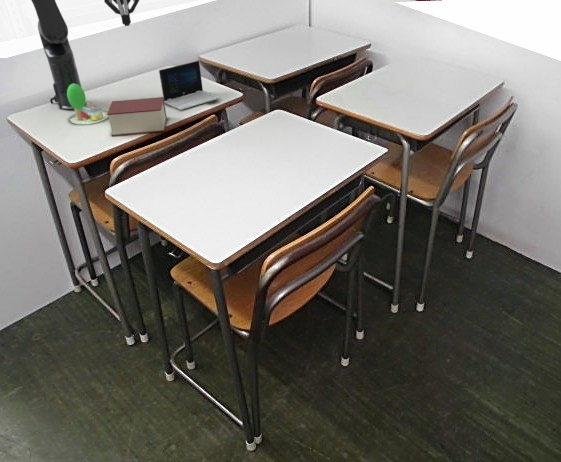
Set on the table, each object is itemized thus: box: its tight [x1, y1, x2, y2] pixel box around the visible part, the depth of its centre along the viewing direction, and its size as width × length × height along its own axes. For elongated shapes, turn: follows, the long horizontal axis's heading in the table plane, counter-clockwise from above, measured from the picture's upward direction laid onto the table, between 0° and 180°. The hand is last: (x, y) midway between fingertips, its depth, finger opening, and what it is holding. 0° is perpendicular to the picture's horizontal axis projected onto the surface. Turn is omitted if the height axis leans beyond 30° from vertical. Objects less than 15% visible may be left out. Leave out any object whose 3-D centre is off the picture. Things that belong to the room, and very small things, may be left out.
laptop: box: [158, 60, 220, 111], centre depth 204 cm, size 18×12×13 cm
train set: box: [67, 84, 109, 125], centre depth 193 cm, size 15×14×14 cm
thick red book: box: [107, 96, 168, 137], centre depth 184 cm, size 18×13×8 cm
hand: (127, 25), depth 193 cm, fingers closed
